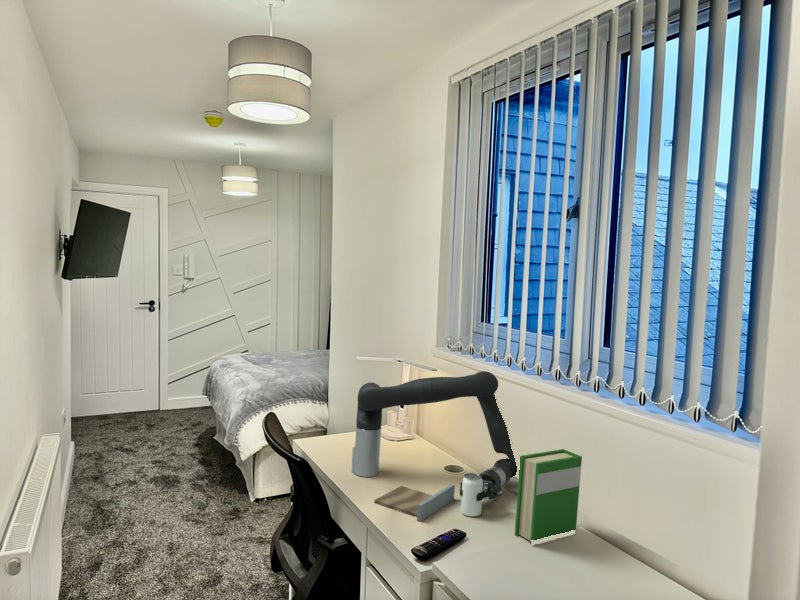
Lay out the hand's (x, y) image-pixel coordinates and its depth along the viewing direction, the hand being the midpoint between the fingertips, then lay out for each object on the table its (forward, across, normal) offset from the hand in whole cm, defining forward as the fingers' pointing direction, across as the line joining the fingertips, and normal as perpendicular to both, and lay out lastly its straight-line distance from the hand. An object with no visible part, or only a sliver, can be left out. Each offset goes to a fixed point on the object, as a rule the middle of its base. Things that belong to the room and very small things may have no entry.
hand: (469, 495), depth 183 cm
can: (-3, 0, +7) cm, 7 cm away
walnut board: (+3, -20, +7) cm, 22 cm away
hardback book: (-4, +24, +7) cm, 25 cm away
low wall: (+2, -10, +7) cm, 12 cm away
